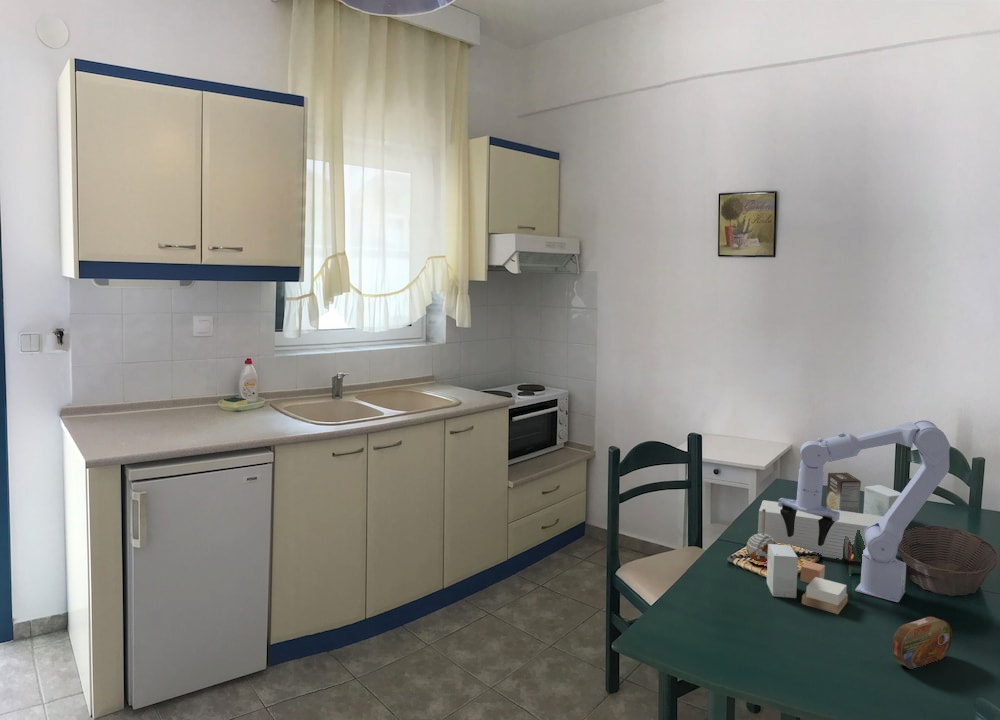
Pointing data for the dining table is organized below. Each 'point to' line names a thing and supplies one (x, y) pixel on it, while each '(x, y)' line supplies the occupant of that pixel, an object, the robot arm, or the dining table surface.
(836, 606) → the oak slab
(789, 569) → the small box
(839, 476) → the coffee box
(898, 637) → the tin
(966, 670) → the dining table surface
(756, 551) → the decorative ornament
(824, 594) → the off-white slab
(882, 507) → the skincare box
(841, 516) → the long white box
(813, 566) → the terracotta block
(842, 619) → the dining table surface
